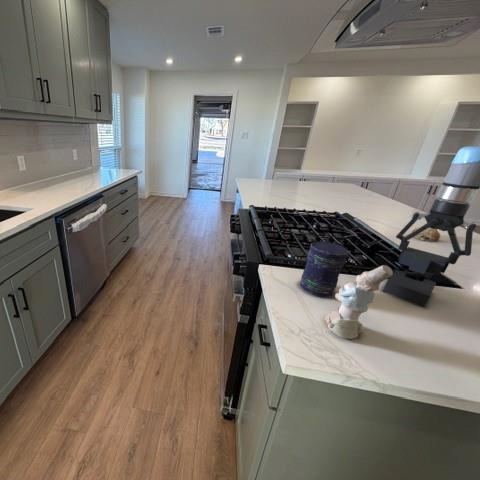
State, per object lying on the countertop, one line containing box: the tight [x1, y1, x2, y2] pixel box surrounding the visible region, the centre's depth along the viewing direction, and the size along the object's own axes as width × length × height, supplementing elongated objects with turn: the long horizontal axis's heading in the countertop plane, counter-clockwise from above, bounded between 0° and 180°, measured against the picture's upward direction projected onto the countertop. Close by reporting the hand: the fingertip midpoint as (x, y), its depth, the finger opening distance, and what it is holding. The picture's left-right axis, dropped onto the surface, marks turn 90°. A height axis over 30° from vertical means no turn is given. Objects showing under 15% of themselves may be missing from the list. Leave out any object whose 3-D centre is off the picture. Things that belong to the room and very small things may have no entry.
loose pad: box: [398, 246, 449, 276], centre depth 84 cm, size 10×11×4 cm
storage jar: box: [299, 240, 349, 299], centre depth 80 cm, size 10×10×15 cm
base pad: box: [382, 269, 437, 308], centre depth 81 cm, size 10×12×4 cm
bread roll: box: [411, 226, 441, 243], centre depth 126 cm, size 10×10×8 cm
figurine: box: [325, 264, 394, 340], centre depth 62 cm, size 9×8×20 cm
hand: (420, 264), depth 86 cm, fingers closed on loose pad, 10 cm apart
